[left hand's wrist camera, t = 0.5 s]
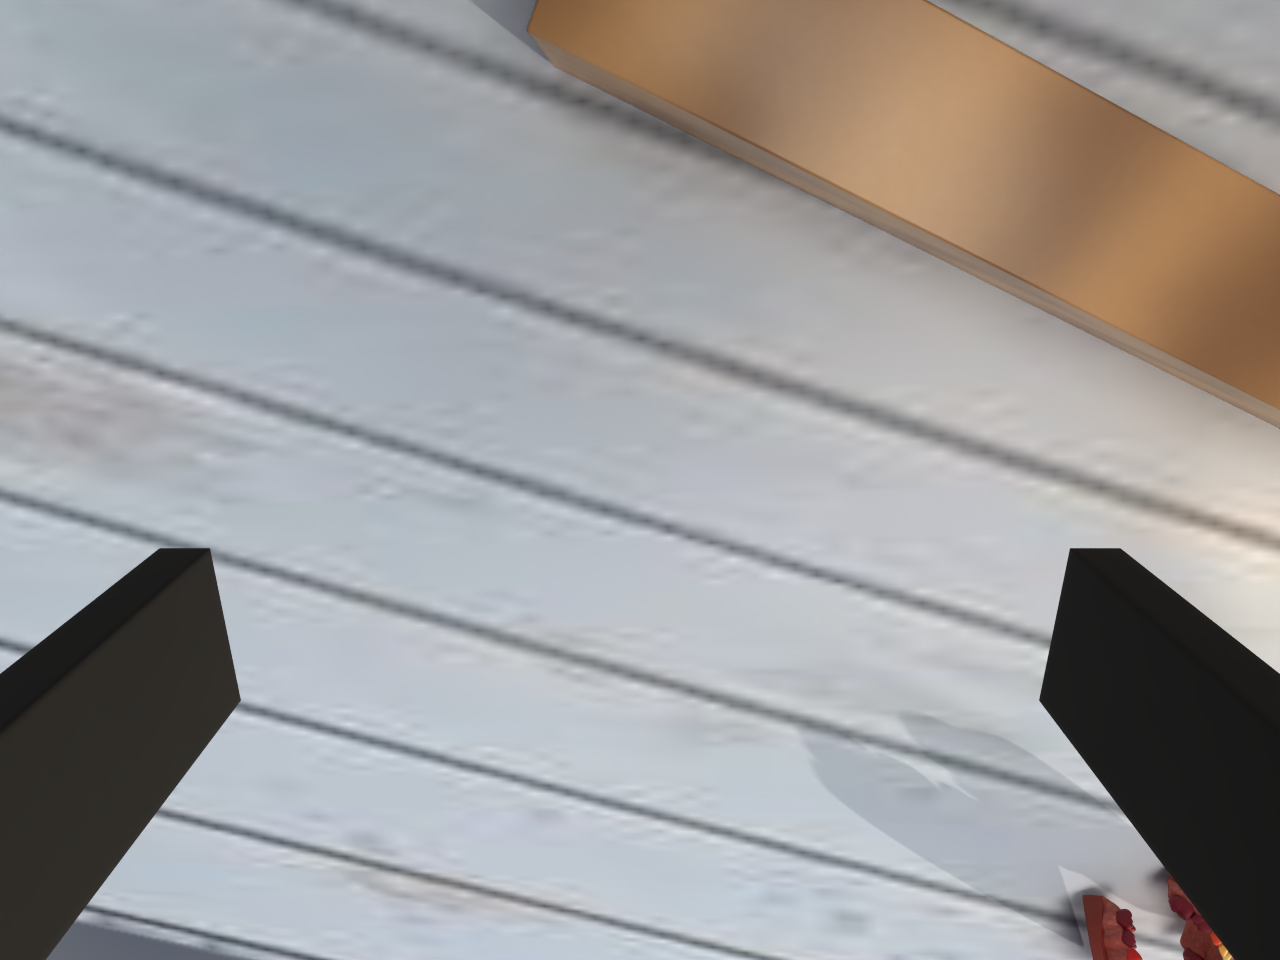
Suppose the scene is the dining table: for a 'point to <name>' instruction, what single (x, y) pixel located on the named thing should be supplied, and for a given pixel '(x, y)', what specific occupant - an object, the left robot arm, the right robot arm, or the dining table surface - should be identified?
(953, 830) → the dining table surface
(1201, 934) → the dark red rounded lump
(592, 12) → the bar
